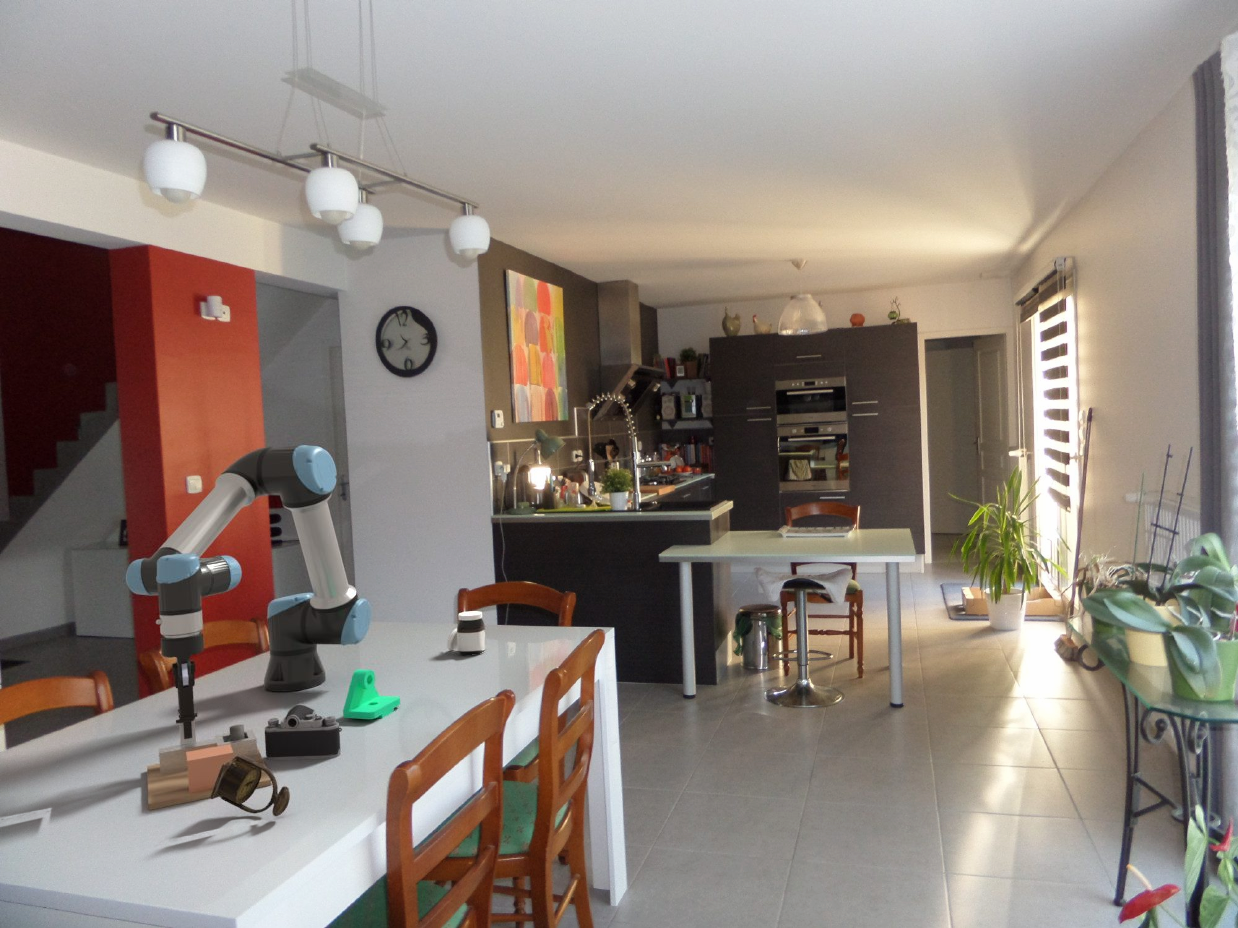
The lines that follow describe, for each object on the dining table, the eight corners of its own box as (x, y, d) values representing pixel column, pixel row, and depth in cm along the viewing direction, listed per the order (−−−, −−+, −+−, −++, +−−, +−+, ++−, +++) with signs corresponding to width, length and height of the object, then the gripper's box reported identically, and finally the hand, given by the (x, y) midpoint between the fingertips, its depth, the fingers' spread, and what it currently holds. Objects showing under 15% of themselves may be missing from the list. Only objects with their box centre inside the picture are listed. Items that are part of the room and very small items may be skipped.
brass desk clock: (224, 807, 158) (221, 749, 157) (300, 801, 159) (297, 744, 159) (209, 824, 151) (205, 764, 150) (288, 818, 152) (285, 758, 151)
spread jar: (482, 657, 258) (480, 616, 258) (442, 658, 258) (440, 617, 258) (489, 647, 270) (487, 608, 270) (451, 648, 270) (449, 609, 270)
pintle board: (147, 770, 177) (145, 735, 177) (257, 750, 187) (255, 716, 186) (148, 809, 158) (146, 770, 158) (271, 784, 167) (269, 747, 167)
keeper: (187, 783, 167) (186, 751, 167) (232, 774, 170) (230, 743, 170) (189, 793, 162) (187, 760, 162) (235, 783, 166) (233, 752, 165)
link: (160, 777, 171) (159, 756, 170) (159, 766, 177) (158, 745, 177) (257, 758, 179) (256, 738, 178) (253, 748, 185) (252, 729, 185)
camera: (352, 744, 188) (350, 696, 188) (338, 758, 180) (335, 708, 179) (279, 746, 189) (276, 698, 189) (261, 760, 181) (258, 710, 180)
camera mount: (373, 724, 201) (370, 678, 201) (343, 722, 204) (341, 676, 203) (402, 707, 213) (400, 664, 212) (374, 706, 215) (372, 662, 215)
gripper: (159, 630, 182) (166, 747, 183) (161, 642, 170) (168, 767, 171) (201, 625, 185) (207, 740, 186) (205, 636, 174) (212, 759, 175)
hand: (188, 753), depth 179 cm, fingers closed
